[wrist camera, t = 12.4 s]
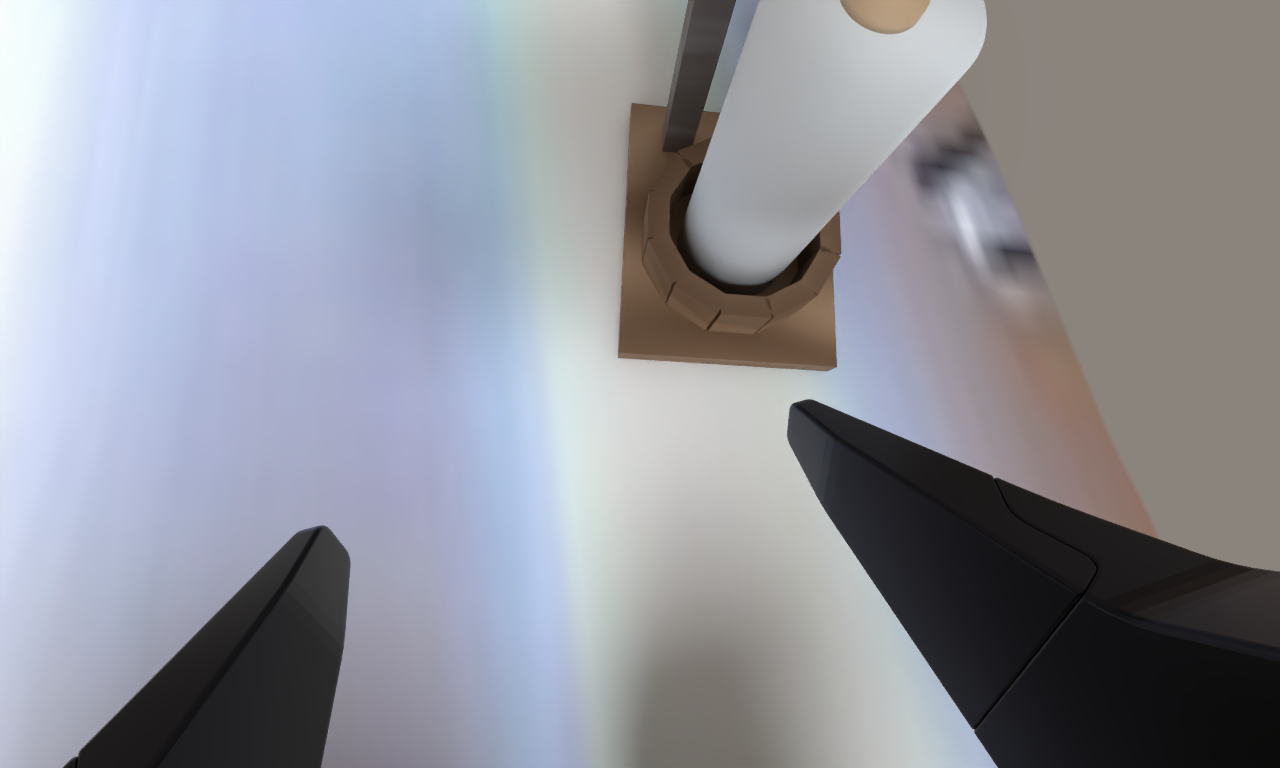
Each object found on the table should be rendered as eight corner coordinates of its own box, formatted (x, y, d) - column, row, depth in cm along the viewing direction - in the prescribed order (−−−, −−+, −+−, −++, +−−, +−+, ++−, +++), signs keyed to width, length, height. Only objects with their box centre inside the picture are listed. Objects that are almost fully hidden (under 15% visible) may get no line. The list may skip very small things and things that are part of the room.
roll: (803, 266, 24) (1040, 28, 11) (717, 319, 23) (870, 121, 10) (742, 183, 25) (903, -134, 12) (656, 230, 24) (729, -61, 11)
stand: (827, 371, 25) (1130, 236, 11) (618, 357, 24) (652, 191, 10) (818, 137, 27) (1051, -213, 13) (630, 117, 26) (671, -283, 12)
